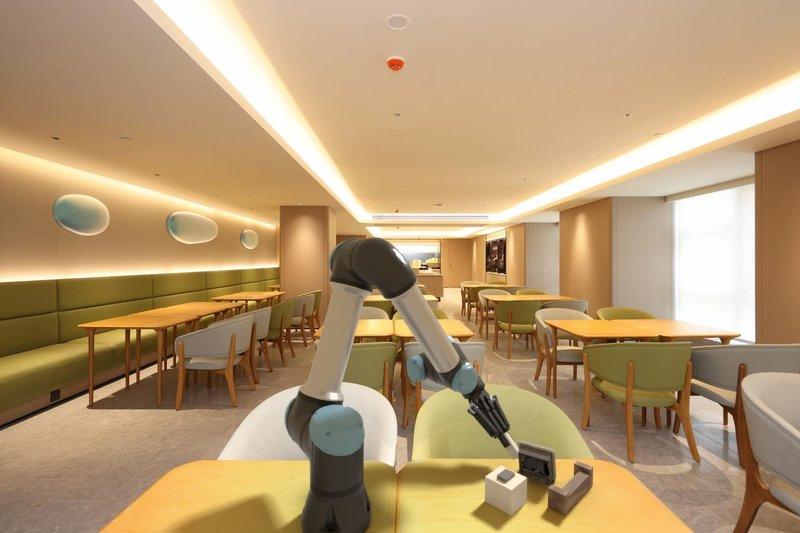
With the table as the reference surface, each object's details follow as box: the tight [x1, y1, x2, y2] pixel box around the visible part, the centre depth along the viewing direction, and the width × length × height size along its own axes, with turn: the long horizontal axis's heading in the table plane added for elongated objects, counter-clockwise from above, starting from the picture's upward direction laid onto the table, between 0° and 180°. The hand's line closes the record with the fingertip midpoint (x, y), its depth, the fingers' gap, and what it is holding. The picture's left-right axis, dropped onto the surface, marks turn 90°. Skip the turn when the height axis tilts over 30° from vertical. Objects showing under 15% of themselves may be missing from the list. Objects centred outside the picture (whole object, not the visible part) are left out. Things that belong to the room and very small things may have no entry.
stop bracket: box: [547, 460, 594, 516], centre depth 90 cm, size 4×17×4 cm, turn 133°
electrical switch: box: [517, 439, 557, 486], centre depth 96 cm, size 9×5×9 cm, turn 57°
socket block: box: [484, 465, 528, 517], centre depth 88 cm, size 7×7×7 cm
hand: (517, 456), depth 101 cm, fingers closed
